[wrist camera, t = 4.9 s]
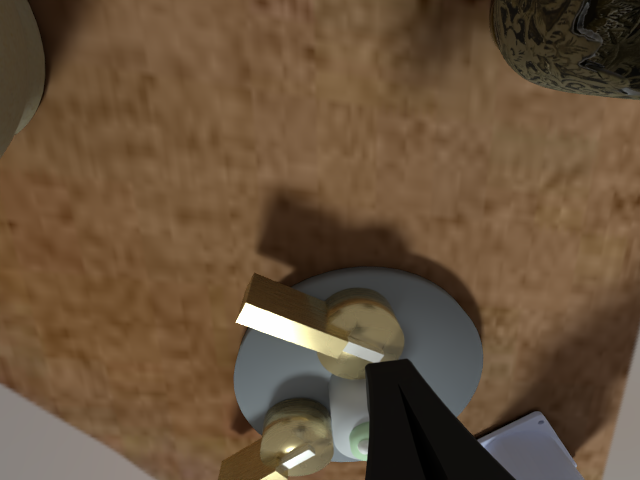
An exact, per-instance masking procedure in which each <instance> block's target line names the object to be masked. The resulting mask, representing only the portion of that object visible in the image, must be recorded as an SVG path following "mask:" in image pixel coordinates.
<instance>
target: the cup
mask: <svg viewBox="0 0 640 480" xmlns="http://www.w3.org/2000/svg"><path fill="white" fill-rule="evenodd" d="M490 32H491V36H492V39H493V41H494V43H495V45H496V46H497V48H498V49H499V50H500V52H501V54H502V55H503V57H504V59H505V60H506V62H507V63H508V65H509V66H510V67H511V68H512V69H513V70H514V71H515V72H516V73H518V74H519V75H520V76H521V77H523V78H524V79H526V80H528V81H530V82H532V83H534V84H537V85H540V86H542V87H545V88H549V89H554V90H558V91H563V92H570V93H577V94H585V95H594V96H603V97H613V98H623V99H633V100H640V0H494V3H493V6H492V9H491V14H490Z"/></svg>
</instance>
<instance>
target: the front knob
mask: <svg viewBox="0 0 640 480" xmlns="http://www.w3.org/2000/svg"><path fill="white" fill-rule="evenodd" d="M236 322H237V323H240V324H243V325H245V326H248V327H251V328H254V329H256V330H259V331H262V332H265V333H268V334H270V335H273V336H276V337H279V338H281V339H284V340H287V341H290V342H292V343H295V344H298V345H301V346H303V347H306V348H309V349H312V350H314V351H317V355H318V358H319V361H320V363H321V364H322V365H323V367H324V368H325V369H326V370H328V371H329V372H330V373H332V374H334V375H336V376H338V377H341V378H345V379H354V380H357V379H366V378H365V366H366V365H367V364H368V363H376V362H384V361H391V360H398V359H399V358H400V356H401V354H402V352H403V349H404V334H403V332H402V329H401V327H400V325H399V323H398V320H397V318H396V316H395V314H394V312H393V309H392V307H391V305H390V303H389V302H388V301H387V299H386V298H385V297H384V296H383V295H381V294H380V293H378V292H376V291H374V290H371V289H367V288H348V289H344V290H341V291H338V292H336V293H334V294H333V295H331V296H329V297H328V298H327V299H326V300H325V301H322V300H320V299H317V298H315V297H312V296H310V295H308V294H305V293H303V292H300V291H298V290H295V289H293V288H290V287H288V286H286V285H283V284H281V283H278V282H276V281H273V280H271V279H268V278H266V277H264V276H261V275H259V274H256V273H254V274H253V276H252V278H251V280H250V282H249V284H248V286H247V288H246V291H245V294H244V297H243V301H242V304H241V307H240V311H239V314H238V318H237V321H236Z"/></svg>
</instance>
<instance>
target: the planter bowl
mask: <svg viewBox="0 0 640 480" xmlns="http://www.w3.org/2000/svg"><path fill="white" fill-rule="evenodd" d="M44 81H45V56H44V50H43V45H42V40H41V36H40V32H39V29H38V26H37V22H36V20H35V17H34V15H33V12H32V10H31V7H30V5H29V3H28V1H27V0H0V158H1V156H2V155H3V154H4V152H5V151H6V149H7V147H8V146H9V144H10V142H11V141H12V139H13V137H14V135H16V134H17V133H18V132H19V131H21V130H22V129H23V128H24V127H25V126H26V125H27V124H28V123H29V121H30V120H31V119H32V117H33V116H34V114H35V112H36V110H37V108H38V106H39V103H40V100H41V97H42V94H43V89H44Z"/></svg>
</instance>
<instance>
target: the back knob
mask: <svg viewBox="0 0 640 480" xmlns="http://www.w3.org/2000/svg"><path fill="white" fill-rule="evenodd" d="M333 454H334V447H333V437H332V427H331V417H330V414H329V412H328V410H327V409H326V408H325V407H324V406H323V405H322V404H320V403H318V402H316V401H313V400H310V399H304V398H294V399H288V400H284V401H282V402H279V403H277V404H275V405H274V406H273V407H271V408H270V409H269V410H268V412H267V413H266V415H265V417H264V423H263V432H262V438H261V439H259V440H258V441H256V442H254V443H252V444H251V445H249V446H247V447H246V448H244V449H242V450H240V451H239V452H237V453H235V454H234V455H232V456H230V457H228V458H227V459H225V460H223V461H222V464H221V468H220V473H219V477H218V480H288V476H303V475H308V474H312V473H315V472H317V471H319V470H321V469H323V468H324V467H325V466H326V465H327V464H329V462H330V461H331V459H332V457H333Z"/></svg>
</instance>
